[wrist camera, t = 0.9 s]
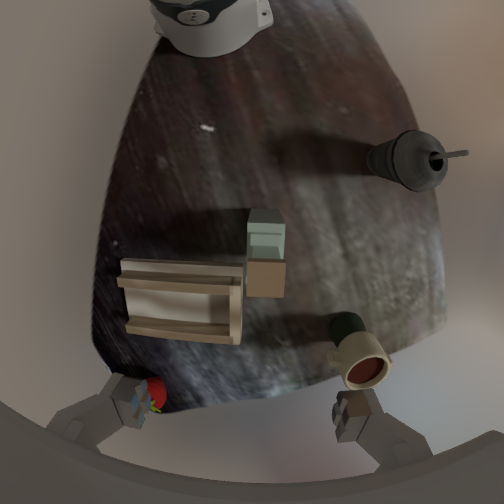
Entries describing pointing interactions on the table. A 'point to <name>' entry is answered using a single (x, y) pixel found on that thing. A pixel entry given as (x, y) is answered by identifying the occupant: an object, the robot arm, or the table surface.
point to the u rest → (183, 299)
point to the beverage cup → (411, 160)
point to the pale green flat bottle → (265, 253)
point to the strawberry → (156, 392)
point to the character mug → (357, 353)
